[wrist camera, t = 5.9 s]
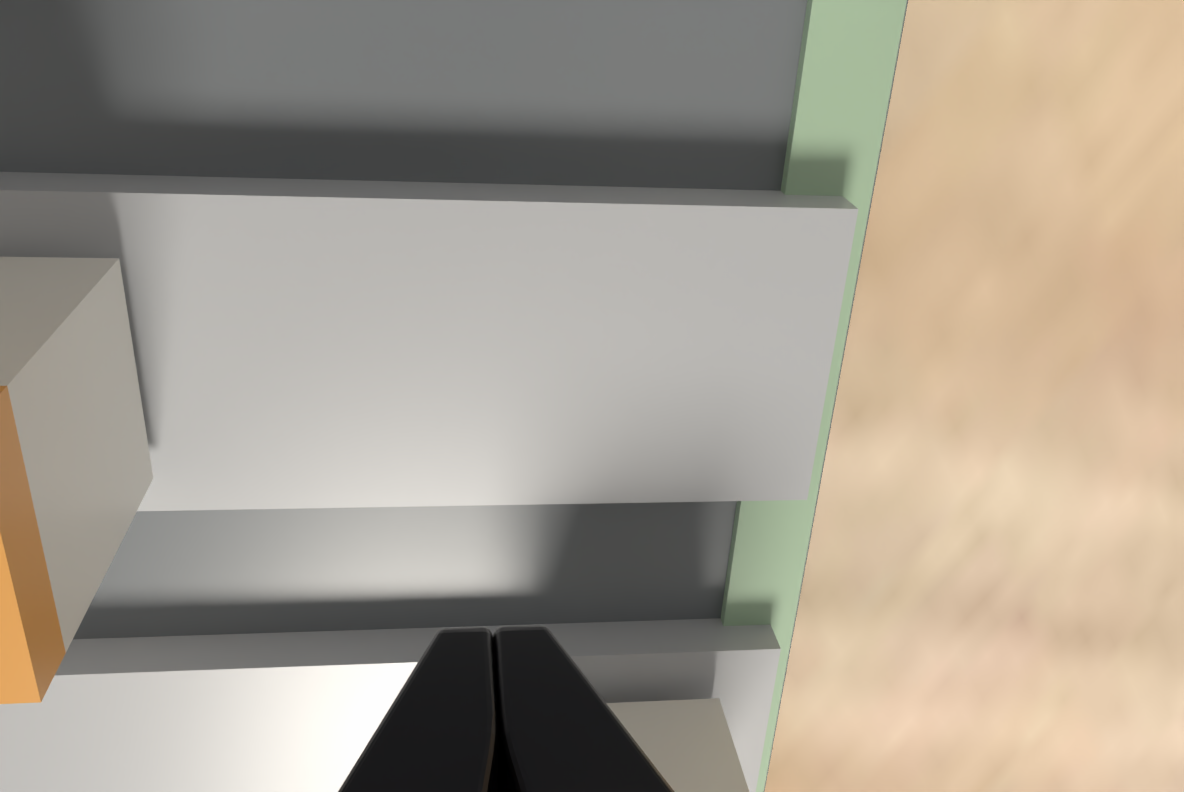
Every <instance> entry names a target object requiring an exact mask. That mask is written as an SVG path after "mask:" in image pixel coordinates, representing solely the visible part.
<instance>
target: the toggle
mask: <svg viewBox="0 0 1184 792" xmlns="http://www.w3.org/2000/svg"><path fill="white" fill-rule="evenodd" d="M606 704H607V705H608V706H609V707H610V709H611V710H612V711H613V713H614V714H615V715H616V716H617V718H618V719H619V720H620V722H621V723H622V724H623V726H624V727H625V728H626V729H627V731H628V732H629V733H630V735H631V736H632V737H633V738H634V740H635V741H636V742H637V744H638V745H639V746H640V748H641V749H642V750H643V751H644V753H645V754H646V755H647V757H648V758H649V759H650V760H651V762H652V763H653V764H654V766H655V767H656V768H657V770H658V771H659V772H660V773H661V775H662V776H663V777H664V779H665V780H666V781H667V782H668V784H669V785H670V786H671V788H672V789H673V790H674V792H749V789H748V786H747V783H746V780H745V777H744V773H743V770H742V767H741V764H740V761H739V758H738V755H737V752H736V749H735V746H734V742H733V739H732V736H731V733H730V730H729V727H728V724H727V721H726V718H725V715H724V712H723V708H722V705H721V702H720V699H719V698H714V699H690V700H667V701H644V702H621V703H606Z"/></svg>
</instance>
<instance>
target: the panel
mask: <svg viewBox="0 0 1184 792" xmlns="http://www.w3.org/2000/svg"><path fill="white" fill-rule="evenodd" d="M907 4H908V0H0V257H62V258H119V261H120V267H121V273H122V280H123V286H124V293H125V299H126V306H127V312H128V318H129V325H130V331H131V338H132V344H133V351H134V357H135V363H136V370H137V376H138V383H139V389H140V396H141V402H142V408H143V415H144V421H145V428H146V434H147V440H148V447H149V453H150V460H151V466H152V473H153V480H152V482H151V484H150V486H149V488H148V490H147V492H146V494H145V496H144V498H143V500H142V502H141V504H140V506H139V508H138V510H137V512H136V514H135V516H134V518H133V520H132V522H131V524H130V526H129V528H128V530H127V532H126V534H125V536H124V538H123V540H122V542H121V544H120V546H119V548H118V550H117V552H116V554H115V556H114V558H113V560H112V562H111V564H110V566H109V568H108V570H107V572H106V574H105V576H104V578H103V580H102V582H101V584H100V586H99V588H98V590H97V592H96V594H95V596H94V598H93V600H92V602H91V604H90V606H89V608H88V610H87V612H86V614H85V616H84V618H83V620H82V622H81V624H80V626H79V628H78V630H77V632H76V634H75V636H74V638H73V640H72V642H71V644H70V646H69V648H68V650H67V652H66V654H65V656H64V658H63V660H62V662H61V664H60V666H59V668H58V670H57V672H56V674H55V676H54V678H53V680H52V682H51V684H50V686H49V688H48V690H47V692H46V694H45V696H44V698H43V700H42V702H41V703H16V704H0V792H338V791H339V789H340V787H341V786H342V784H343V783H344V781H345V779H346V778H347V776H348V774H349V773H350V771H351V770H352V768H353V766H354V765H355V763H356V762H357V760H358V758H359V757H360V755H361V753H362V752H363V750H364V749H365V747H366V745H367V744H368V742H369V740H370V739H371V737H372V736H373V734H374V732H375V731H376V729H377V728H378V726H379V724H380V723H381V721H382V719H383V718H384V716H385V715H386V713H387V711H388V710H389V708H390V707H391V705H392V703H393V702H394V700H395V698H396V697H397V695H398V694H399V692H400V690H401V689H402V687H403V686H404V684H405V682H406V681H407V679H408V677H409V676H410V674H411V673H412V671H413V669H414V668H415V666H416V665H417V663H418V661H419V660H420V658H421V656H422V655H423V653H424V652H425V650H426V648H427V647H428V645H429V644H430V642H431V640H432V639H433V637H434V636H435V634H436V633H437V632H438V631H439V630H441V629H443V628H448V627H482V626H483V627H487V628H488V629H490V631H491V632H492V636H493V634H494V632H495V630H496V629H497V628H498V627H500V626H515V625H543V626H545V627H547V628H548V629H549V630H550V631H551V632H552V634H553V635H554V636H555V637H556V639H557V640H558V641H559V643H560V644H561V645H562V647H563V648H564V649H565V650H566V652H567V653H568V654H569V656H570V657H571V658H572V660H573V661H574V662H575V663H576V665H577V666H578V667H579V669H580V670H581V671H582V672H583V674H584V675H585V676H586V678H587V679H588V680H589V682H590V683H591V684H592V685H593V687H594V688H595V689H596V691H597V692H598V693H599V694H600V696H601V697H602V698H603V700H604V701H605V702H606V703H621V702H644V701H667V700H690V699H714V698H719V699H720V702H721V705H722V708H723V712H724V715H725V718H726V721H727V724H728V727H729V730H730V733H731V736H732V739H733V742H734V746H735V749H736V752H737V755H738V758H739V761H740V764H741V767H742V770H743V773H744V777H745V780H746V783H747V786H748V789H749V792H764V791H765V785H766V780H767V774H768V769H769V763H770V758H771V752H772V747H773V741H774V736H775V730H776V725H777V719H778V714H779V708H780V703H781V697H782V692H783V686H784V681H785V675H786V670H787V664H788V659H789V653H790V648H791V642H792V637H793V631H794V626H795V620H796V615H797V609H798V604H799V598H800V593H801V587H802V582H803V576H804V571H805V565H806V560H807V554H808V549H809V543H810V538H811V532H812V527H813V521H814V516H815V510H816V505H817V499H818V494H819V488H820V483H821V477H822V472H823V466H824V461H825V455H826V450H827V444H828V439H829V433H830V428H831V422H832V417H833V411H834V406H835V400H836V395H837V389H838V384H839V378H840V372H841V367H842V361H843V356H844V350H845V345H846V339H847V334H848V328H849V323H850V317H851V312H852V306H853V301H854V295H855V290H856V284H857V279H858V273H859V268H860V262H861V257H862V251H863V246H864V240H865V235H866V229H867V224H868V218H869V213H870V207H871V202H872V196H873V191H874V185H875V180H876V174H877V169H878V163H879V158H880V152H881V147H882V141H883V136H884V130H885V125H886V119H887V114H888V108H889V103H890V97H891V92H892V86H893V81H894V75H895V70H896V64H897V59H898V53H899V48H900V42H901V37H902V31H903V26H904V20H905V15H906V9H907Z"/></svg>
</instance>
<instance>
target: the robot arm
mask: <svg viewBox="0 0 1184 792" xmlns="http://www.w3.org/2000/svg"><path fill="white" fill-rule="evenodd" d="M338 792H674V790H673V789H672V788H671V786H670V785H669V784H668V782H667V781H666V780H665V779H664V777H663V776H662V775H661V773H660V772H659V771H658V770H657V768H656V767H655V766H654V764H653V763H652V762H651V760H650V759H649V758H648V757H647V755H646V754H645V753H644V751H643V750H642V749H641V748H640V746H639V745H638V744H637V742H636V741H635V740H634V738H633V737H632V736H631V735H630V733H629V732H628V731H627V729H626V728H625V727H624V726H623V724H622V723H621V722H620V720H619V719H618V718H617V716H616V715H615V714H614V713H613V711H612V710H611V709H610V707H609V706H608V705H607V704H606V702H605V701H604V700H603V698H602V697H601V696H600V694H599V693H598V692H597V691H596V689H595V688H594V687H593V685H592V684H591V683H590V682H589V680H588V679H587V678H586V676H585V675H584V674H583V672H582V671H581V670H580V669H579V667H578V666H577V665H576V663H575V662H574V661H573V660H572V658H571V657H570V656H569V654H568V653H567V652H566V650H565V649H564V648H563V647H562V645H561V644H560V643H559V641H558V640H557V639H556V637H555V636H554V635H553V634H552V632H551V631H550V630H549V629H548V628H547V627H545V626H543V625H515V626H500V627H498V628H497V629H496V630H495V632H494V634H493V636H492V632H491V631H490V629H488V628H487V627H483V626H482V627H448V628H443V629H441V630H439V631H438V632H437V633H436V634H435V636H434V637H433V639H432V640H431V642H430V644H429V645H428V647H427V648H426V650H425V652H424V653H423V655H422V656H421V658H420V660H419V661H418V663H417V665H416V666H415V668H414V669H413V671H412V673H411V674H410V676H409V677H408V679H407V681H406V682H405V684H404V686H403V687H402V689H401V690H400V692H399V694H398V695H397V697H396V698H395V700H394V702H393V703H392V705H391V707H390V708H389V710H388V711H387V713H386V715H385V716H384V718H383V719H382V721H381V723H380V724H379V726H378V728H377V729H376V731H375V732H374V734H373V736H372V737H371V739H370V740H369V742H368V744H367V745H366V747H365V749H364V750H363V752H362V753H361V755H360V757H359V758H358V760H357V762H356V763H355V765H354V766H353V768H352V770H351V771H350V773H349V774H348V776H347V778H346V779H345V781H344V783H343V784H342V786H341V787H340V789H339V791H338Z"/></svg>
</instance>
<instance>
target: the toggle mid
mask: <svg viewBox="0 0 1184 792" xmlns="http://www.w3.org/2000/svg"><path fill="white" fill-rule="evenodd" d="M152 480H153V473H152V466H151V460H150V453H149V447H148V440H147V434H146V428H145V421H144V415H143V408H142V402H141V396H140V389H139V383H138V376H137V370H136V363H135V357H134V351H133V344H132V338H131V331H130V325H129V318H128V312H127V306H126V299H125V293H124V286H123V280H122V273H121V267H120V261H119V258H62V257H0V704H16V703H41V702H42V700H43V698H44V696H45V694H46V692H47V690H48V688H49V686H50V684H51V682H52V680H53V678H54V676H55V674H56V672H57V670H58V668H59V666H60V664H61V662H62V660H63V658H64V656H65V654H66V652H67V650H68V648H69V646H70V644H71V642H72V640H73V638H74V636H75V634H76V632H77V630H78V628H79V626H80V624H81V622H82V620H83V618H84V616H85V614H86V612H87V610H88V608H89V606H90V604H91V602H92V600H93V598H94V596H95V594H96V592H97V590H98V588H99V586H100V584H101V582H102V580H103V578H104V576H105V574H106V572H107V570H108V568H109V566H110V564H111V562H112V560H113V558H114V556H115V554H116V552H117V550H118V548H119V546H120V544H121V542H122V540H123V538H124V536H125V534H126V532H127V530H128V528H129V526H130V524H131V522H132V520H133V518H134V516H135V514H136V512H137V510H138V508H139V506H140V504H141V502H142V500H143V498H144V496H145V494H146V492H147V490H148V488H149V486H150V484H151V482H152Z"/></svg>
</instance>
